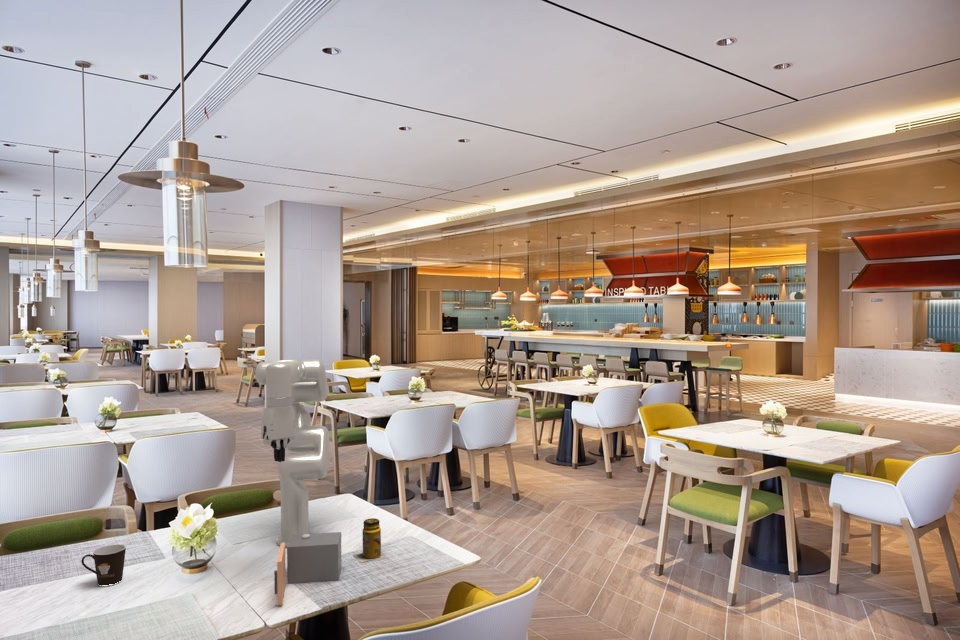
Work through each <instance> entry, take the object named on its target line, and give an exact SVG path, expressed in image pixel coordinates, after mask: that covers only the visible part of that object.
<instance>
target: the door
mask: <svg viewBox="0 0 960 640" xmlns="http://www.w3.org/2000/svg"><path fill="white" fill-rule="evenodd" d="M276 562H277V563H276V570H274V572H273V578H274V579H273V583H274V584H273V585H274V587H273V588H274V589H273V591H274V595H277V606H283V603H284V602H283V601H284V596H285V595H284V594H285V589H286V547H285V543H282V544H281V545H280V546H279V551H278V555H277V561H276Z"/></svg>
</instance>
